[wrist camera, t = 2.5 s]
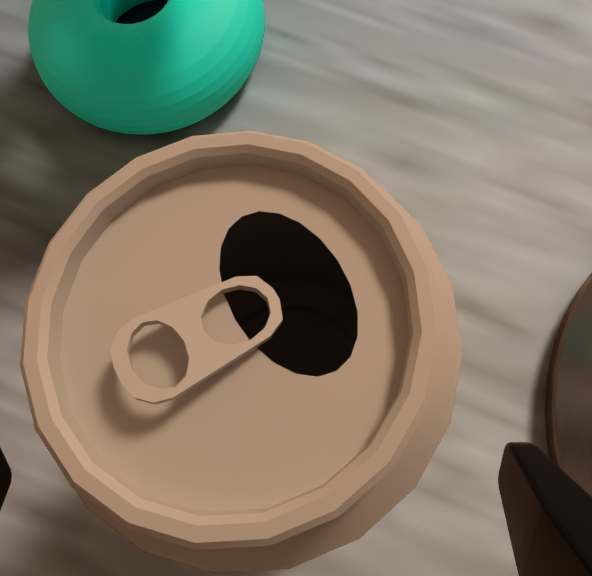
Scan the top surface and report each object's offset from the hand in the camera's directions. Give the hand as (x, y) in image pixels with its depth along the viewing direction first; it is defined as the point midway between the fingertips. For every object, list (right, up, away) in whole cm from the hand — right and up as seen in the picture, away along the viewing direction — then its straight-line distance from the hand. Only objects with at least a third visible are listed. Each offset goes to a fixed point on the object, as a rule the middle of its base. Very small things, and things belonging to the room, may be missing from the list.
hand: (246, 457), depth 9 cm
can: (+1, -1, +10) cm, 10 cm away
